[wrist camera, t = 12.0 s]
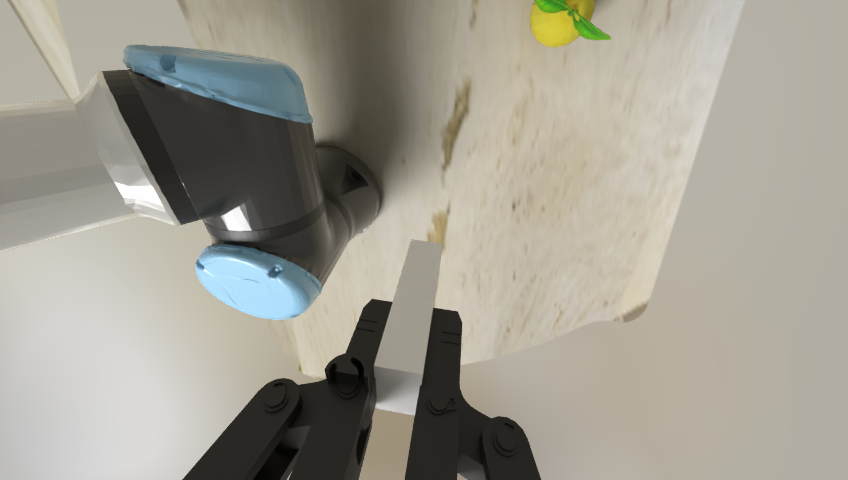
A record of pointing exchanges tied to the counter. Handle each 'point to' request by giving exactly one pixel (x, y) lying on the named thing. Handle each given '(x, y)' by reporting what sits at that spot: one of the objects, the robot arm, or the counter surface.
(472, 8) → the counter surface
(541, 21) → the lemon
